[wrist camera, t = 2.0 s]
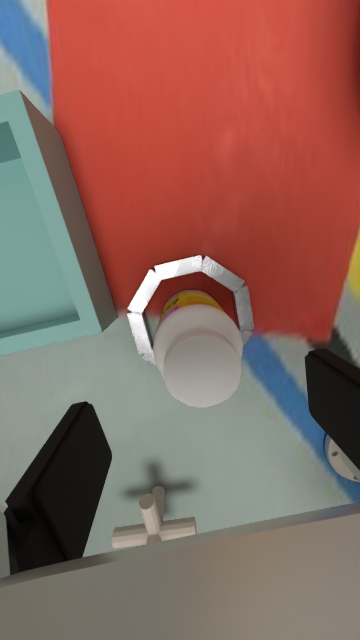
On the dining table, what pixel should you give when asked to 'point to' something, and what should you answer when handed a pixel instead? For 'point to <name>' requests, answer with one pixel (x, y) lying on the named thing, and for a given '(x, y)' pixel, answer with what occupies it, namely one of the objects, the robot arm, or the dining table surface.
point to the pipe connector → (153, 524)
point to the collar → (181, 268)
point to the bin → (44, 238)
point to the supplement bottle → (198, 349)
